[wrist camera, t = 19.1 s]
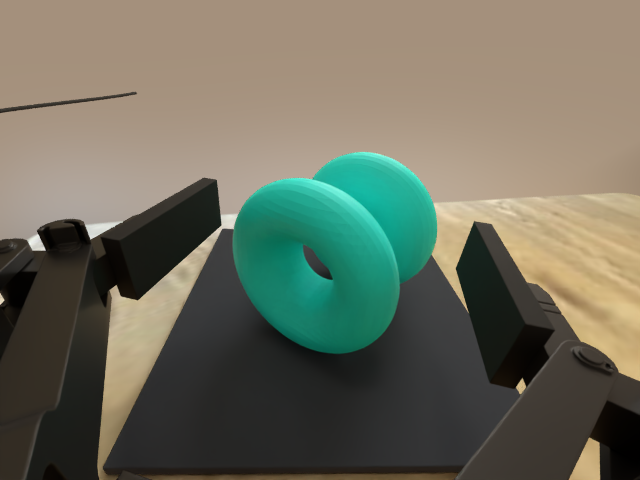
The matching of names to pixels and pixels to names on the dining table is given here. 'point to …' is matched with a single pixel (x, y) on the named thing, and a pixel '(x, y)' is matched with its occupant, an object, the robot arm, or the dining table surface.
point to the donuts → (335, 249)
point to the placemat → (310, 389)
